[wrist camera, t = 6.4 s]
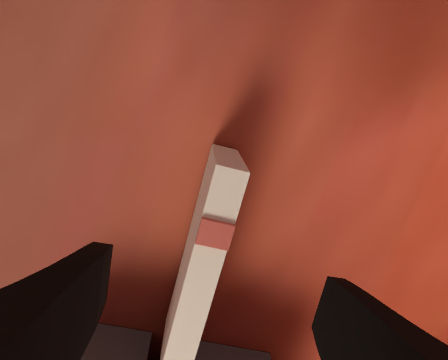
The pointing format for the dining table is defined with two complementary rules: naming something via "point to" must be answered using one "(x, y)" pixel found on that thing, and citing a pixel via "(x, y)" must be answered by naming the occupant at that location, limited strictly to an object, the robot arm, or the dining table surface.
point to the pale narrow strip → (204, 252)
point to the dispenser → (140, 341)
